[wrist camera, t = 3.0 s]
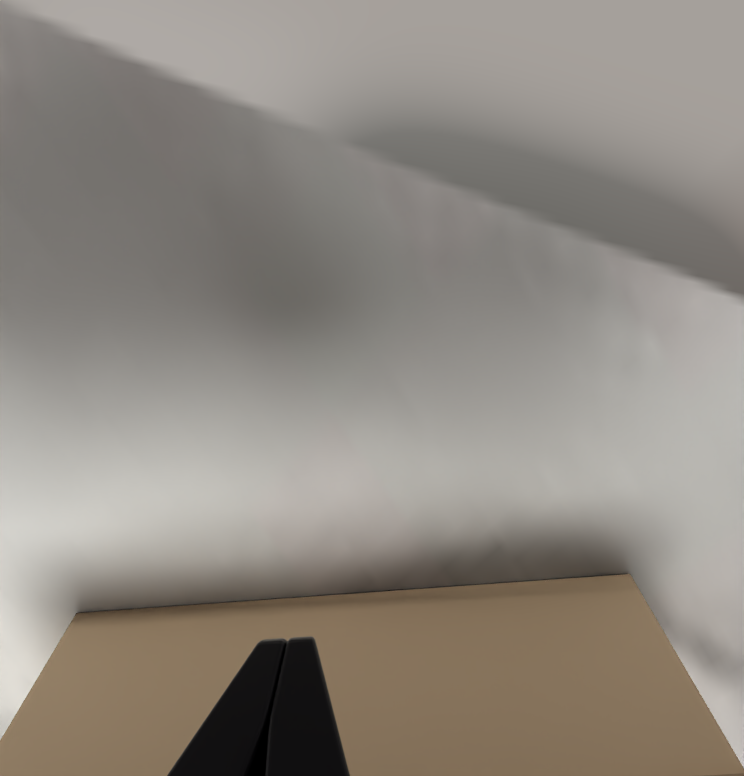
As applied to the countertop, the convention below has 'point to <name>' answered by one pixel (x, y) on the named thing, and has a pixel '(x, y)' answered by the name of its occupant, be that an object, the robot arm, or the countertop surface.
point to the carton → (389, 684)
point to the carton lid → (728, 775)
